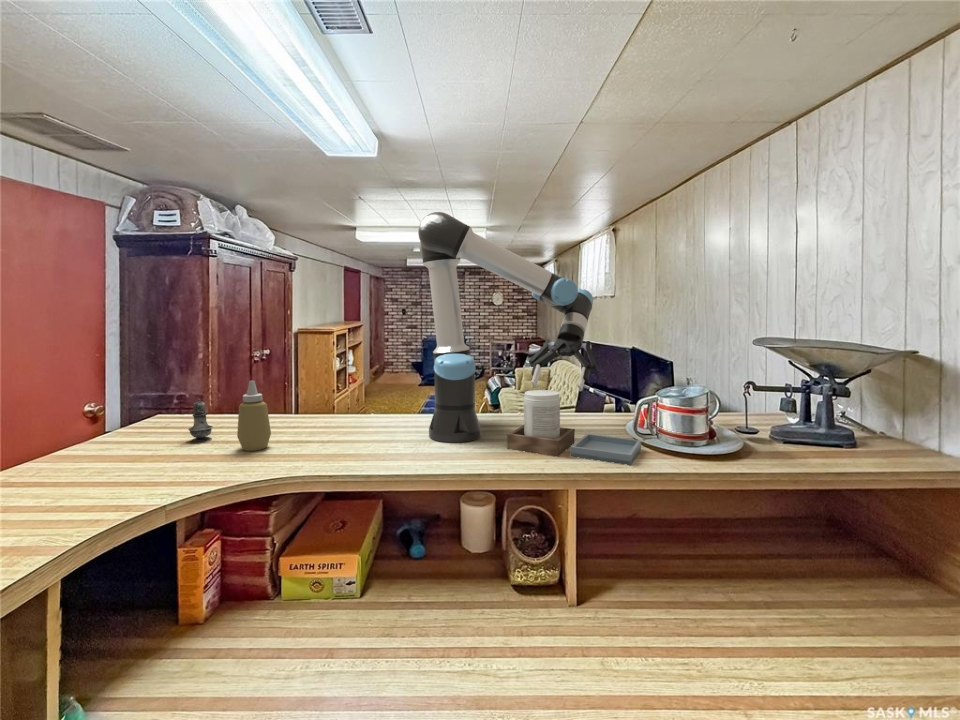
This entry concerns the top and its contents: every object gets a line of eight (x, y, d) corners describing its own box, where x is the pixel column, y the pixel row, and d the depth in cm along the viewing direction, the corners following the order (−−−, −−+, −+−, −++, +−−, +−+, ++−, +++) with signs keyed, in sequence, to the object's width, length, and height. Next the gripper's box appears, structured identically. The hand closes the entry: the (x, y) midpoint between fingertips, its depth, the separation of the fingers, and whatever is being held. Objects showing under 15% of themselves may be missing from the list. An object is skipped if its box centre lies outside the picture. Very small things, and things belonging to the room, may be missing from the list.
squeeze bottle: (276, 448, 126) (274, 380, 124) (245, 454, 120) (241, 384, 118) (264, 442, 131) (261, 377, 129) (233, 448, 125) (229, 381, 123)
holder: (507, 449, 125) (507, 434, 125) (527, 436, 138) (527, 423, 137) (557, 456, 119) (558, 441, 118) (574, 443, 131) (574, 428, 131)
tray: (570, 456, 119) (570, 446, 119) (586, 442, 132) (586, 433, 132) (630, 465, 112) (630, 455, 112) (640, 449, 125) (641, 440, 125)
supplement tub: (566, 446, 128) (567, 392, 126) (544, 453, 121) (545, 397, 120) (538, 439, 135) (539, 388, 133) (516, 445, 128) (516, 392, 127)
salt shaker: (184, 442, 131) (181, 399, 130) (203, 436, 137) (201, 395, 136) (199, 444, 129) (196, 400, 128) (218, 438, 135) (215, 397, 133)
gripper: (615, 340, 142) (602, 398, 131) (536, 338, 154) (518, 390, 142) (612, 323, 137) (598, 381, 126) (531, 322, 149) (511, 375, 137)
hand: (556, 386), depth 134 cm, fingers open, 13 cm apart
